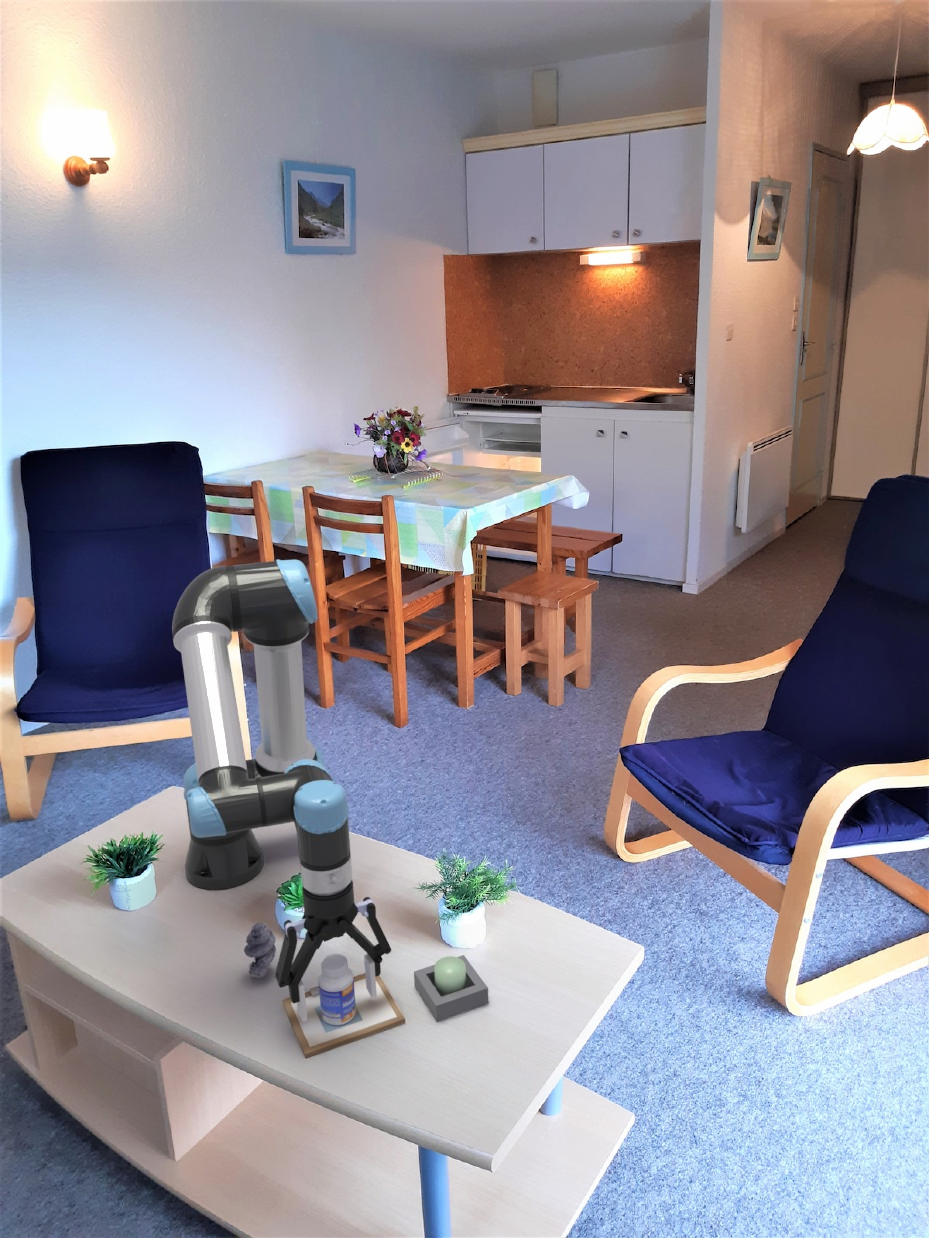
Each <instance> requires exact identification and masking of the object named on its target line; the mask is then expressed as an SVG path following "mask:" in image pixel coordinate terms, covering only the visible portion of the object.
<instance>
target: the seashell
mask: <svg viewBox="0 0 929 1238" xmlns="http://www.w3.org/2000/svg"><path fill="white" fill-rule="evenodd" d="M269 928H270V927H269V926H268V924H267V923H266V922H262V923H260V922H258V923H256V924H254V925H253V926H252V927H251V931H250V932H249V933H248V934H247V936H246V940H245V942H246V945H245V946H244V949H243V952H244V954H245V956H247V957H248V958H253V959H254V960H253V961H251V962H250V963H249V971H248V975H250V976H251V977H252V978H255V979H259V980H260V979H262V978H263V977H264V976H265V975H266V974H267V972H268V970H269V969H270V966H271V964H272V963H273V962H272V961H274V958H275V956H276V951H277V947H276V945H275V943H276V937H275V934H274V933H273V931H272V930H270V929H269Z"/></svg>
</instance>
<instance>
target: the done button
mask: <svg viewBox="0 0 929 1238" xmlns="http://www.w3.org/2000/svg"><path fill="white" fill-rule="evenodd" d="M458 957H459V956H444V957H441V958H440V959H438V960H437V961H436V962H435V964H434V965H435V966H434V970H435V989H436V990H437V992H438V993H439V995H440V996H441V997H443V996H445V995H448V994H451V993H454V992H457V991H460V990H463V989H466V988H467V987H466V965H465V963H464V961H463V960H462V959H460V958H458Z"/></svg>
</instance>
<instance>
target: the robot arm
mask: <svg viewBox="0 0 929 1238" xmlns="http://www.w3.org/2000/svg"><path fill="white" fill-rule="evenodd" d="M311 583H312V582H311V578H310V576H309V573H308V570H307V567H306V566H305V564H304V563H303V562H302V561H301V560H298V559H284V560H281V559H276V560H273V561H272V560H271V561H270V560H269V561H263V562H252V563H251V562H250V563H245V564H244V563H243V564H234V565H219V566H216V567H212V568H209V569H207V570H205V571H203V572H201V573H200V574H199V575H198V576H197V575H196V577H194V579H192V581H190V583H188V586H186V588H185V590H184V591H183V593H182V594H181V596H180V597H179V600H178V602H177V603H176V604H177V605H176V607H175V609H174V613H173V618H172V622H171V623H172V624H171V625H172V626H171V631H172V632H171V633H172V641H173V646H174V648H175V649H176V650H177V651H178V652H180V654H181V663H182V668H183V675H184V685H185V693H186V698H187V707H188V715H189V722H190V723H189V724H190V729H191V738H192V745H193V753H194V761H195V762H194V763H193V764H191V765H190V766H189V767H188V769H187V770H186V772H185V774H184V775H183V798H184V800H185V804H186V810H187V811H186V813H187V821H188V827H189V828H188V829H189V830H188V831H189V837H190V841H189V844H188V850H187V853H186V857H185V862H184V868H185V870H184V871H185V876H186V879H187V880H188V882H189V883H190V884H191V885H193V886H195V887H197V888H201V889H205V890H227V889H231V888H235V887H238V886H241V885H243V884H246V883H247V882H249V881H251V880H252V879H253V878H255V877H256V876H257V875H258V874H259V873H261V871H262V869H263V866H264V854H263V850H262V848H261V845H260V844H259V842H258V839H257V838H256V836H255V834H254V832H253V830H254V829H259V828H264V827H265V828H266V827H267V828H268V827H272V826H278V825H283V824H288V823H289V824H290V823H294V826H295V830H296V836H297V847H298V852H299V857H298V858H299V866H300V879H301V880H300V881H301V886H302V888H301V889H302V898H303V899H302V900H303V901H302V902H303V903H302V904H303V916H302V918H301V919H299V920H296V921H293V922H292V921H291V919H286V920H284V922H283V930H284V936H283V937H284V938H283V941H282V945H281V949H280V953H279V958H278V961H277V965H276V969H275V972H274V977H275V979H276V982H277V984H278V987H279V988H280V989H281V988H285V987H287V986H288V992H289V993H288V994H289V997H290V998H291V1000H292V1002H293V1003H297V1008H298V1013H299V1015H300V1017H301V1020H302V1022H305V1021H308V1020H307V1010H306V1000H305V992H306V991H305V990H306V989H305V985H304V982H303V980H302V978H303V977H304V975H305V973H306V972H307V969H308V967H309V966H310V964H311V961H312V959H313V957H314V955H315V953H316V951H317V950H319V949H320V947H321V946H322V944H323V942H327V941H330V940H332V939H334V938H335V939H336V938H341V937H344V936H345V935H344V934H346V935H348V936H349V937H350V938H351V939H352V940H353V941H354V942H355V943H356V944H357V945H358V946H359V947H360V948H361V949H363V951H364V952H366V953H364V954H363V959H364V960H363V961H364V973H365V976H366V989H367V990H368V992H369V994H370V996H371V998H372V999H374V998H376V997H377V994H376V979H375V977H376V976H381V973H382V972H381V971H382V970H381V963H382V962H383V955H389V954H390V953H391V952H392V948H391V946H390V944H389V941H388V939H387V937H386V935H385V933H384V931H383V929H382V927H381V925H380V923H379V921H378V918H377V909H376V908H377V907H376V905H375V903H374V902H373V901H372V899H371V898H370V896H366V897H364V898H363V899H362V901H360V902H355V893H354V891H355V890H354V881H353V868H352V867H353V866H352V857H351V856H352V855H351V845H350V844H351V843H350V828H349V827H350V826H349V812H350V811H349V810H350V809H349V804H348V800H347V793H346V790H345V788H344V787H343V786H342V785H341V784H338V783H336V781H334V779H333V777H332V776H331V774H330V773H329V771H328V770H327V768H326V767H325V761H324V757H323V754H322V752H321V751H320V750H319V748H318V749H317V748H315V745H314V743H313V742H312V741H311V740H309V739H308V737H307V721H306V719H307V717H306V706H305V705H306V704H305V703H306V702H305V687H304V686H305V685H304V669H303V667H304V666H303V651H302V649H303V647H302V641H303V640H305V639H306V638H307V636H308V635H309V631H310V626H309V624H314V623H315V622H317V621H318V609H317V605H316V604H317V603H316V598H315V594H314V592H313V591H314V590H313V587H312V584H311ZM237 632H243V636H244V638H245V639H246V641H247V642H249V643H250V644H251V645H253V652H254V655H253V656H254V664H255V678H256V688H257V689H256V691H257V701H258V713H259V714H258V715H259V723H260V724H259V725H260V726H259V727H260V735H261V736H260V737H261V743H260V744H259V745H258V746H257V748H256V749H255V753H254V758H251V759H246V754H245V747H244V741H243V736H242V730H241V729H242V728H241V723H240V716H239V711H238V710H239V709H238V704H237V698H236V692H235V686H234V681H233V672H232V667H231V666H232V665H231V661H230V660H231V659H230V655H229V648H228V646H229V645H230V643H231V642H232V639H233V634H232V633H237ZM359 913H360V915H362V917H365V918H366V920H367V922H368V924H369V927H370V928H371V931H372V933H373V935H374V937H375V939H376V941H377V942H378V943H377V944H375V945H374V944H373V943H372V942H371V940H369V939H368V938H367V936H366V935H364V934H363V932H362V931H360V929H359V928H358V927H357V926H356V925H355V924H353V922H354V921H355V919H356V918H357V915H358V914H359ZM302 930H306V933H305V936H304V937H305V938H304V940H303V942H302V944H301V946H300V947H299V950H298V952H297V954H296V955H295V953H296V950H297V945H298V939H299V938H300V937H301V933H302ZM294 957H295V958H294Z"/></svg>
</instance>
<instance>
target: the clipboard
mask: <svg viewBox="0 0 929 1238" xmlns="http://www.w3.org/2000/svg"><path fill="white" fill-rule="evenodd" d="M353 979H354V992H355V1003H356V1013H355V1016H354V1017H353V1019H352V1020H350V1021H349V1022H347V1023H345V1024H343V1025H331V1024H328V1023H326V1022H325V1021H324V1020H323V1018H322V1014H321V1004H320V994H319V985H316V986H313V987H311V988H309V990H308V991H305V1000H306V1010H307V1020H308V1021H305V1022H302V1020H301V1017H300V1015H299V1013H298V1008H297V1003H293V1002H292V1000H291V998H290V996H289V997H286V998H284V999H282V1006H283V1008H284V1010H285V1013H286V1015H287V1018H288V1020H289V1021H290V1025H291V1027H292V1030H293V1032H294V1034H295V1036H296V1039H297V1041H298V1043H299V1046H300V1049H301V1051H302V1053H303V1056H304V1058H305V1059H307V1058H310V1057H313V1056H316V1055H318V1054H319V1055H320V1054H321V1053H325V1052H327V1051H331V1050H333V1049H336V1048H338V1047H342V1046H345V1045H347V1044H350V1043H353V1042H356V1041H358V1040H359V1041H360V1040H361V1039H364V1038H367V1037H370V1036H373V1035H376V1034H378V1033H380V1032H384V1031H386V1030H390V1029H393V1028H395V1027H398V1026H401V1025H404V1024H406V1019H405V1016H404V1015H403V1013H402V1012H401V1010H400V1008H399V1006H398V1004H397V1003H396V1001H395V999H394V998H393V995H392V994H391V993H390V991H389V989H388V988H387V986H386V984H385V982H384V981H383V979H382V977H381V975H379V976H376V977H375V979H376V994H377V997H376V998H374V999H372V998H371V996H370V994H369V992H368V990H367V989H366V976H365V972H364V973H360V974H357V975H353Z"/></svg>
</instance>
